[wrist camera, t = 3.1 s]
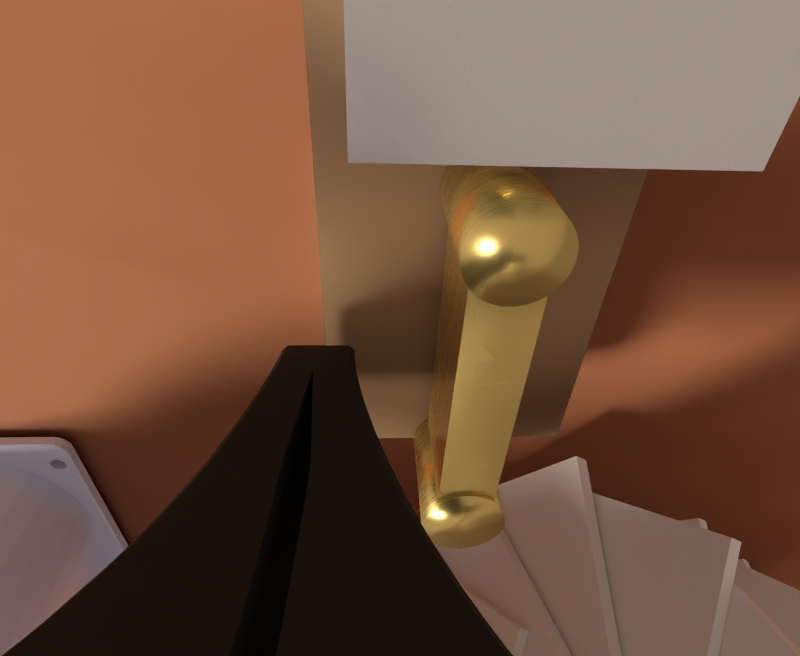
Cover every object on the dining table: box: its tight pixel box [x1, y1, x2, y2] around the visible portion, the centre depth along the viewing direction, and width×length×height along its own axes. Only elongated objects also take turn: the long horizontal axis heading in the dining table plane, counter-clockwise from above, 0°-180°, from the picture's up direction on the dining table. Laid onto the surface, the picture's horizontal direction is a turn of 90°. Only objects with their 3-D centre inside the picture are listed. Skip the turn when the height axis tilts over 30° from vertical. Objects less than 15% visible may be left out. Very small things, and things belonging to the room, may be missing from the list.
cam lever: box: [414, 165, 579, 548], centre depth 10 cm, size 8×2×2 cm, turn 178°
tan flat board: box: [302, 0, 649, 438], centre depth 10 cm, size 16×6×3 cm, turn 178°
